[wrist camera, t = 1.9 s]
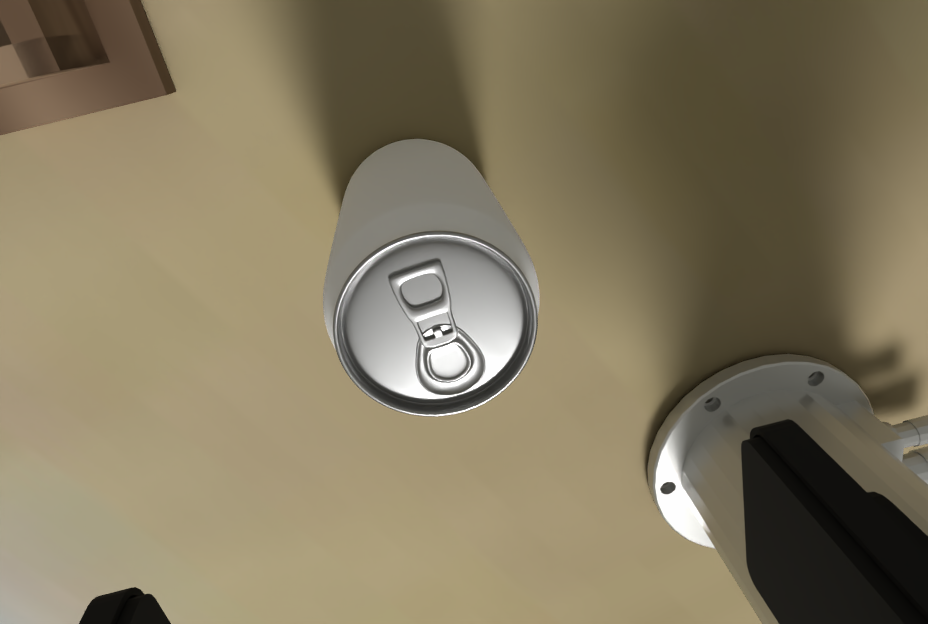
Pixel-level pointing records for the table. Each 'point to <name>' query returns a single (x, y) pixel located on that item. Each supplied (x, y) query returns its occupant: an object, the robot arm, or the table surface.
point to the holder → (75, 60)
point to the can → (428, 283)
